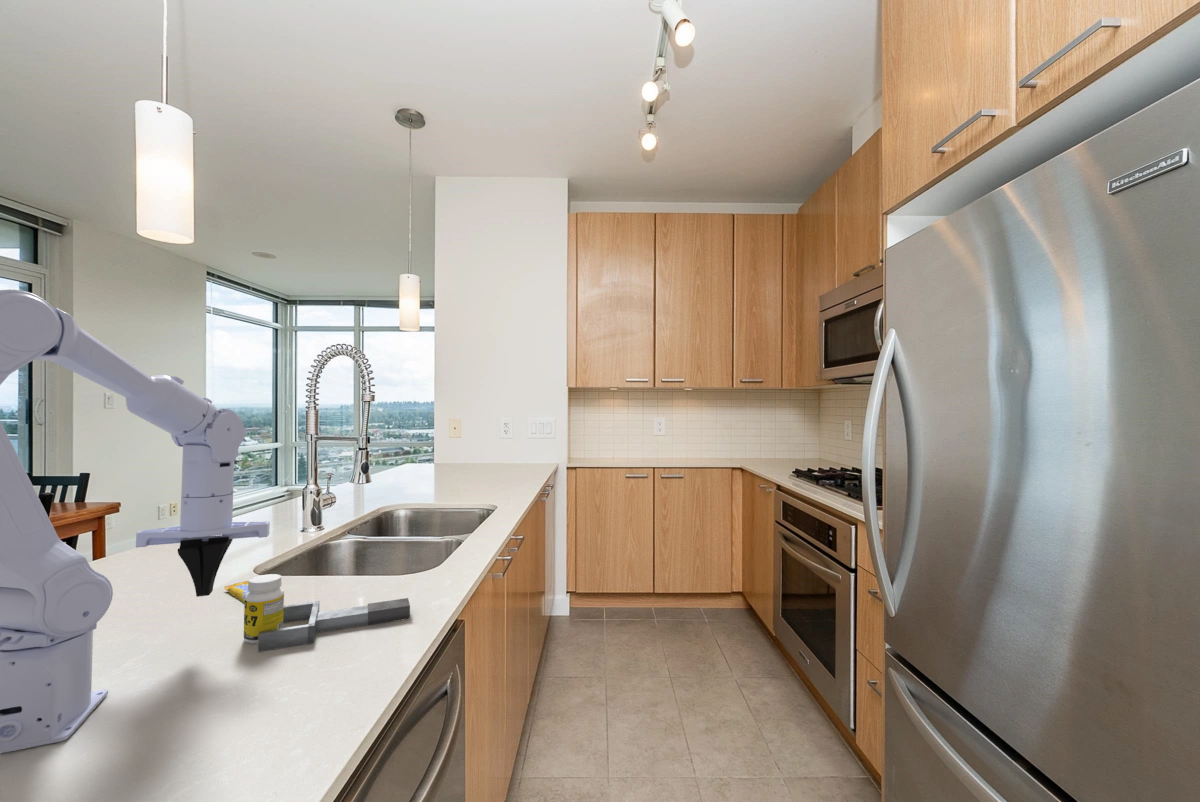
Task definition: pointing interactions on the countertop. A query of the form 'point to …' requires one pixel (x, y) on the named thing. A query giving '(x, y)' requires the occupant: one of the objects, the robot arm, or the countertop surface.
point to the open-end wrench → (328, 621)
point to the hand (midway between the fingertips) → (204, 593)
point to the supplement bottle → (263, 606)
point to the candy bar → (238, 590)
